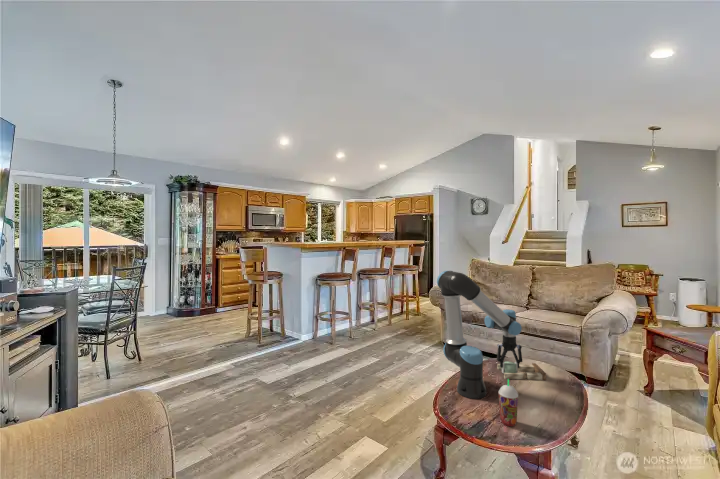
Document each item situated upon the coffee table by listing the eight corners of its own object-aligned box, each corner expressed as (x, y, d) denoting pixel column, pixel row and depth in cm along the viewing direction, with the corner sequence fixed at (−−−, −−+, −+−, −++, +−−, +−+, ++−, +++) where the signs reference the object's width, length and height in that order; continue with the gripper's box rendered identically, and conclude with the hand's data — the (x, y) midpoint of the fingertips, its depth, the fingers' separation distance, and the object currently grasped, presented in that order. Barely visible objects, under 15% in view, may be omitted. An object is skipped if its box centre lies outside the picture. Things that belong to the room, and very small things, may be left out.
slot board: (504, 378, 199) (504, 372, 198) (497, 368, 213) (497, 362, 213) (546, 380, 196) (545, 373, 196) (535, 369, 211) (535, 363, 211)
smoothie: (509, 430, 147) (508, 385, 147) (494, 420, 155) (494, 377, 155) (522, 425, 151) (522, 381, 150) (507, 416, 158) (507, 374, 158)
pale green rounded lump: (505, 375, 202) (505, 365, 202) (501, 370, 209) (501, 361, 209) (517, 375, 202) (517, 366, 201) (513, 371, 209) (513, 361, 208)
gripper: (494, 337, 202) (494, 375, 203) (528, 337, 200) (529, 375, 201) (490, 333, 210) (491, 369, 210) (524, 333, 208) (524, 370, 208)
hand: (509, 372), depth 205 cm, fingers closed on pale green rounded lump, 7 cm apart
